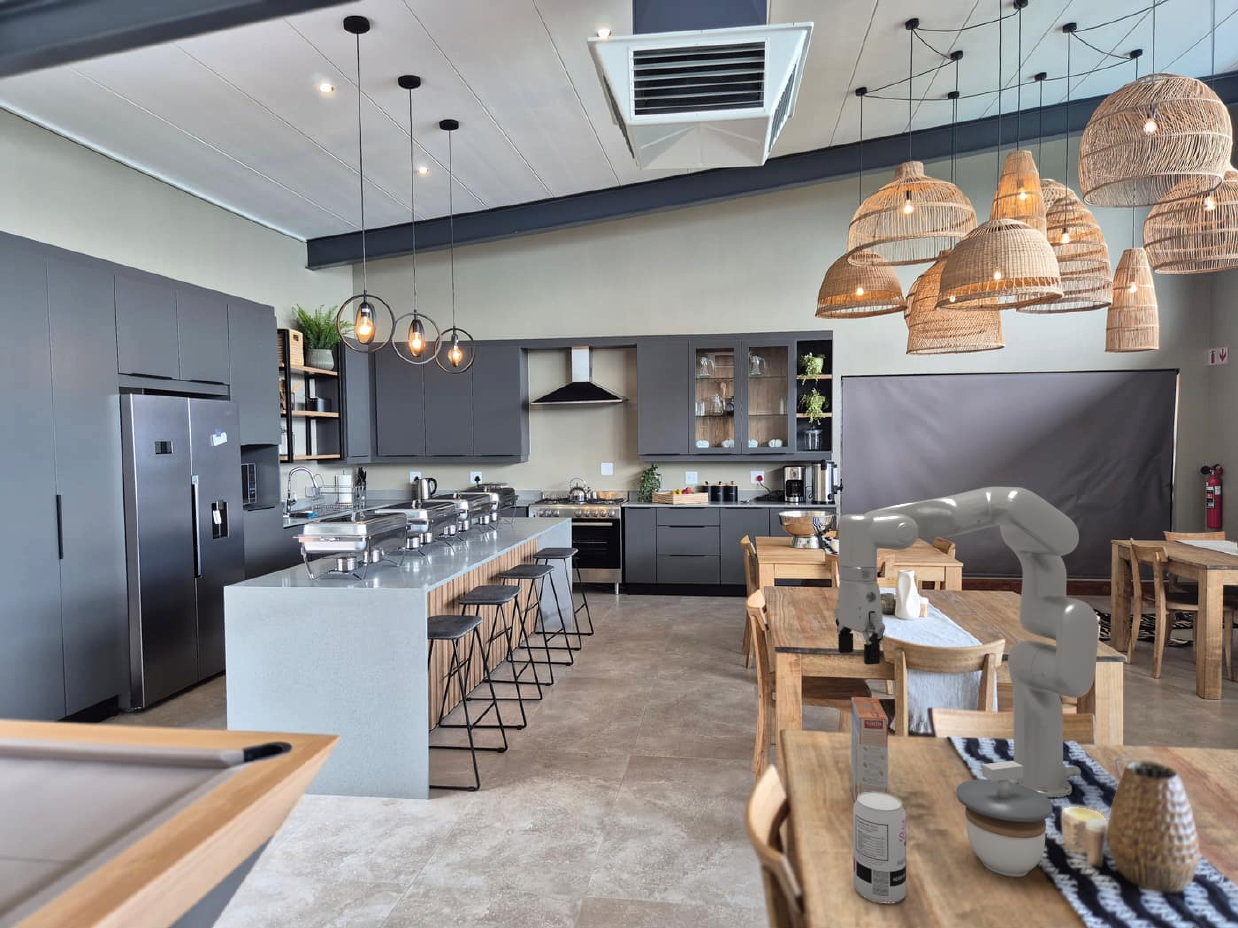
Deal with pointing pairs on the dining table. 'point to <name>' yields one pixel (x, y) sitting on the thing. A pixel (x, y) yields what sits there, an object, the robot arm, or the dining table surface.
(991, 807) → the lid
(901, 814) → the supplement can
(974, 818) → the lidded bowl
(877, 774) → the cracker box
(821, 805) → the dining table surface
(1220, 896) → the dining table surface
